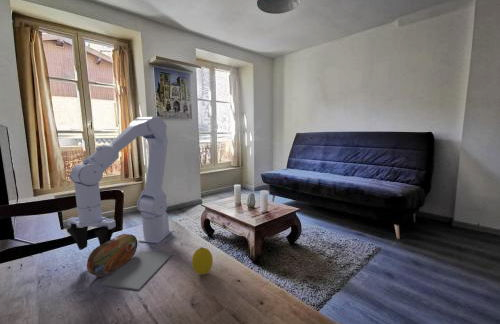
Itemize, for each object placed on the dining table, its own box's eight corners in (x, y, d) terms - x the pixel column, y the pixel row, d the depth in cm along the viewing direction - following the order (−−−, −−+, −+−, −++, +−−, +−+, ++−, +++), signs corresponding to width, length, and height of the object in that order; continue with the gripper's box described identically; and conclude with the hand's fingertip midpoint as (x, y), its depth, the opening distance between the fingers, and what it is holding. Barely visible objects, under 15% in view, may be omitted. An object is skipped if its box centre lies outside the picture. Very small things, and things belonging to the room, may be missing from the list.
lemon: (188, 275, 67) (187, 248, 65) (205, 266, 71) (204, 240, 69) (200, 283, 63) (199, 255, 62) (217, 274, 67) (216, 247, 66)
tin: (94, 283, 63) (92, 254, 62) (85, 280, 64) (83, 251, 63) (138, 255, 77) (138, 230, 76) (130, 252, 78) (130, 228, 77)
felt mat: (141, 251, 79) (141, 250, 79) (172, 254, 77) (172, 253, 77) (100, 285, 62) (100, 284, 62) (138, 290, 60) (138, 289, 60)
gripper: (54, 208, 66) (60, 254, 68) (100, 211, 64) (105, 259, 66) (77, 200, 73) (82, 242, 75) (119, 203, 71) (123, 246, 73)
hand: (94, 249), depth 71 cm, fingers open, 7 cm apart
